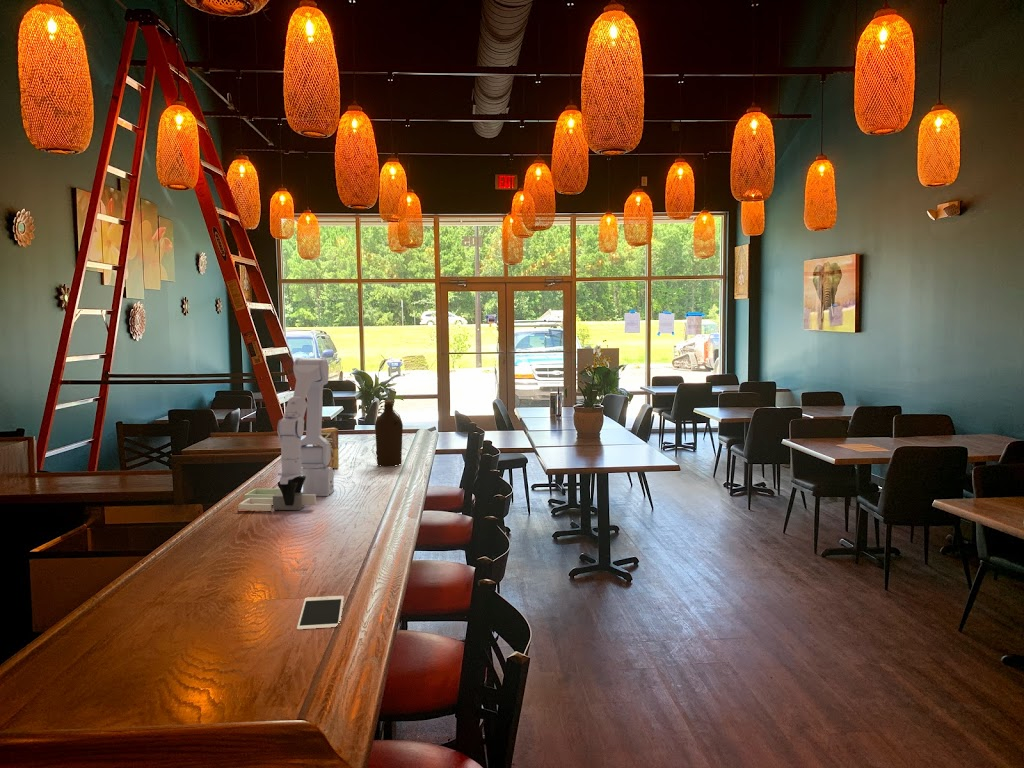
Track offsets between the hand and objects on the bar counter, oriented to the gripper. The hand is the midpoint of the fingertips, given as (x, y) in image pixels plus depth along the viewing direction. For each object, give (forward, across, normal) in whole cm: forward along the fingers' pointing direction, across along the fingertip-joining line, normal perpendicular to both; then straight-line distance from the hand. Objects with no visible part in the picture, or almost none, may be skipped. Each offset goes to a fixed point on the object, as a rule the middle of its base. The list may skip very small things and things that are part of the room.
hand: (292, 502), depth 229 cm
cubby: (+2, 0, -10) cm, 10 cm away
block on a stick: (+1, 0, +1) cm, 2 cm away
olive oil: (+2, -70, +14) cm, 71 cm away
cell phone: (+2, +79, +32) cm, 86 cm away
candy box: (+2, -60, -8) cm, 61 cm away
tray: (+2, -11, -12) cm, 16 cm away
